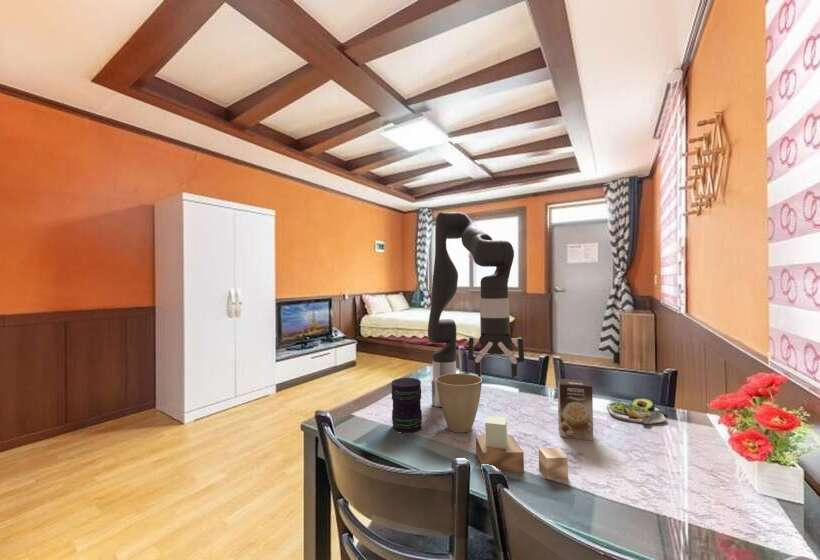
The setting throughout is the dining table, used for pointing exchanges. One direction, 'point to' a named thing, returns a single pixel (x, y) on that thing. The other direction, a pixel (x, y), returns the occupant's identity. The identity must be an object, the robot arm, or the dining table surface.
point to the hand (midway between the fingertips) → (496, 376)
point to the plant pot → (459, 399)
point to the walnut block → (501, 454)
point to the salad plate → (637, 411)
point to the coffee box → (575, 409)
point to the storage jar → (406, 405)
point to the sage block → (496, 432)
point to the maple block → (553, 463)
